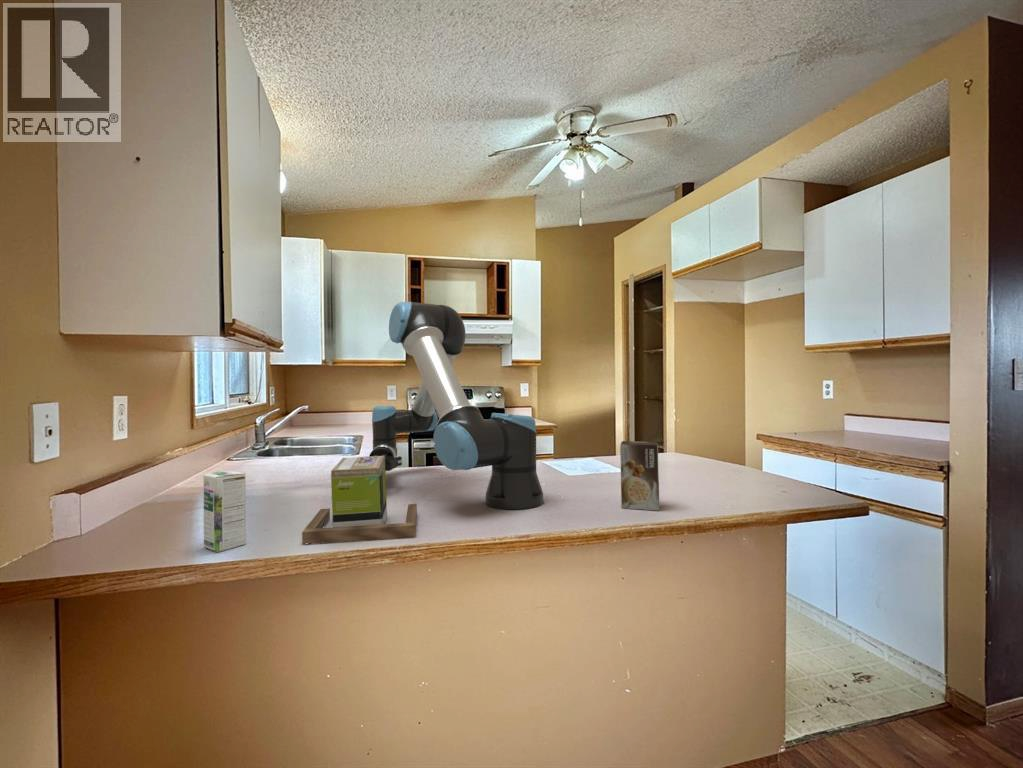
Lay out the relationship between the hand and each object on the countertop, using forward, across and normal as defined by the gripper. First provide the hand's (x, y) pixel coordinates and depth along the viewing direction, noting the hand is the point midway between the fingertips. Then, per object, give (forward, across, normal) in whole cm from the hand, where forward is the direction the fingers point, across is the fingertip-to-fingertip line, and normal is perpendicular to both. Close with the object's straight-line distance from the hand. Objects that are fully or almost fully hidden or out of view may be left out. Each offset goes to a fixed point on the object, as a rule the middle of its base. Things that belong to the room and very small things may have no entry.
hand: (374, 471), depth 129 cm
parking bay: (+21, 0, -9) cm, 22 cm away
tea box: (+21, +1, -9) cm, 23 cm away
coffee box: (+18, -66, -9) cm, 69 cm away
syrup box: (+28, +26, -9) cm, 39 cm away
